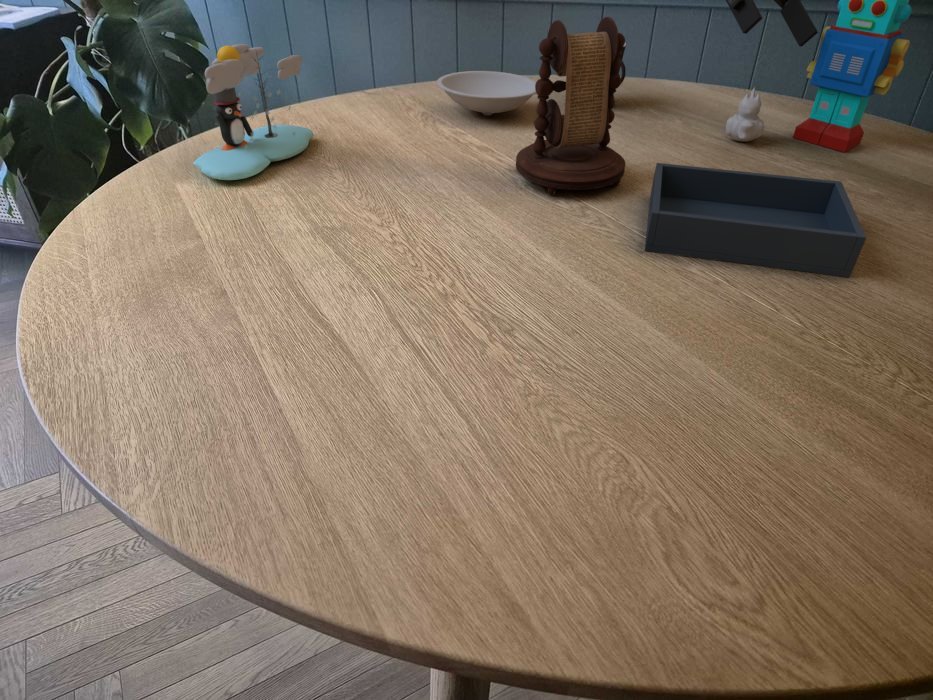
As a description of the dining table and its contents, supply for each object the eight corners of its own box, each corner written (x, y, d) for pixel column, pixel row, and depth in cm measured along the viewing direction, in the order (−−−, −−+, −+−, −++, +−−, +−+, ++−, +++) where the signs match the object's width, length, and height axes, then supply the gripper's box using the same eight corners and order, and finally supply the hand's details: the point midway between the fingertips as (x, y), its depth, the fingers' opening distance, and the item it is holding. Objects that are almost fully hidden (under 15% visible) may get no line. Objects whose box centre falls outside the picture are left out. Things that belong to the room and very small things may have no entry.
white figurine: (758, 136, 104) (773, 83, 99) (760, 151, 99) (776, 96, 94) (722, 132, 105) (735, 80, 101) (722, 147, 100) (736, 93, 96)
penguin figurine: (237, 191, 87) (210, 71, 78) (179, 175, 91) (147, 59, 82) (330, 143, 101) (317, 36, 92) (277, 131, 105) (259, 27, 96)
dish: (422, 119, 110) (420, 88, 107) (458, 95, 120) (458, 66, 117) (521, 135, 104) (522, 102, 101) (550, 108, 114) (552, 78, 111)
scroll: (540, 207, 84) (554, 37, 72) (499, 163, 95) (505, 10, 83) (642, 192, 87) (672, 28, 75) (592, 152, 99) (610, 3, 86)
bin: (827, 217, 82) (841, 181, 79) (849, 277, 71) (866, 237, 68) (649, 197, 86) (656, 162, 83) (644, 251, 75) (651, 212, 72)
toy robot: (782, 135, 105) (837, -48, 89) (800, 126, 108) (856, -51, 93) (855, 155, 98) (929, -38, 83) (872, 146, 101) (946, -42, 86)
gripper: (749, -43, 107) (807, 62, 101) (644, -78, 93) (704, 41, 88) (789, -85, 101) (852, 24, 95) (683, -129, 87) (750, -5, 82)
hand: (781, 33), depth 92 cm, fingers open, 13 cm apart
